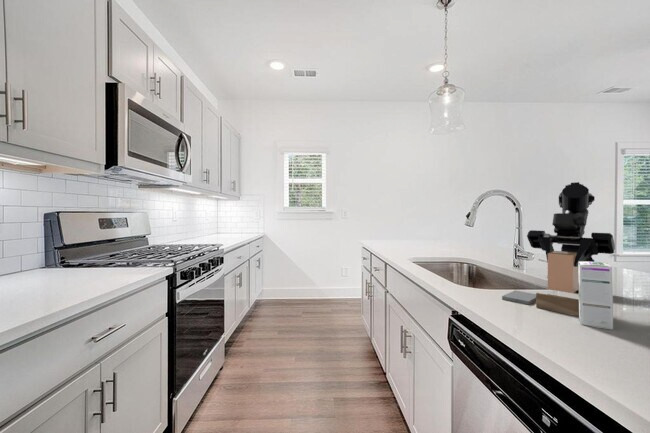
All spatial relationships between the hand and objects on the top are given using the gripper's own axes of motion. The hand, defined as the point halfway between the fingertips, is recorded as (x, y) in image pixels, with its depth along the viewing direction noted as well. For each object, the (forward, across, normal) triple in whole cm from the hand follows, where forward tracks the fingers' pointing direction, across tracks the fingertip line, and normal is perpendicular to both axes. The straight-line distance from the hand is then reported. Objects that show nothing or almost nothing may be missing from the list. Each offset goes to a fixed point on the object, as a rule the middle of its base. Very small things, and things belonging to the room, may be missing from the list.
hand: (561, 264), depth 80 cm
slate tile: (+7, -10, +10) cm, 16 cm away
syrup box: (+14, +8, +4) cm, 16 cm away
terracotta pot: (+4, 0, +6) cm, 7 cm away
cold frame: (+8, 0, +10) cm, 12 cm away
